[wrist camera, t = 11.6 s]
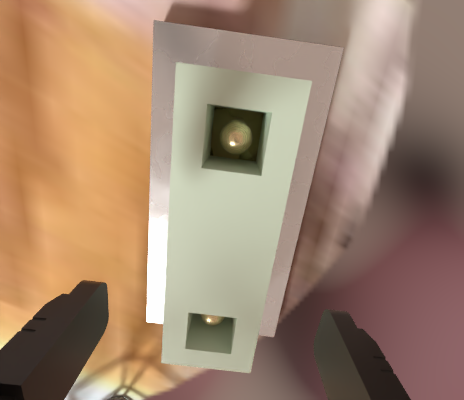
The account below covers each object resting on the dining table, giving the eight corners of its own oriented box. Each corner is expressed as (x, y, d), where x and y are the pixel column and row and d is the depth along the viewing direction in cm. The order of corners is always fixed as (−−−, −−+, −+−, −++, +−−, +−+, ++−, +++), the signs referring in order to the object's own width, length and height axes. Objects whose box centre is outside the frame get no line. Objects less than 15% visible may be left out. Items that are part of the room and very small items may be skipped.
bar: (192, 75, 15) (175, 62, 11) (293, 89, 15) (312, 81, 11) (175, 317, 20) (161, 363, 17) (248, 325, 21) (250, 373, 17)
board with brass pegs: (160, 28, 17) (116, -22, 11) (335, 53, 17) (389, 18, 11) (151, 309, 25) (123, 374, 19) (271, 324, 25) (282, 393, 19)
